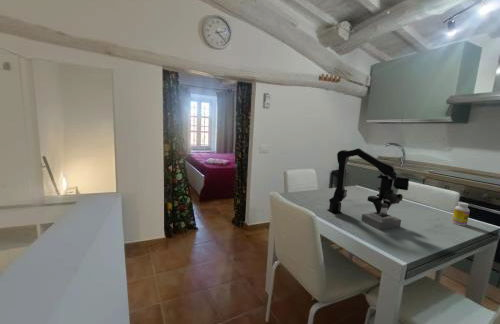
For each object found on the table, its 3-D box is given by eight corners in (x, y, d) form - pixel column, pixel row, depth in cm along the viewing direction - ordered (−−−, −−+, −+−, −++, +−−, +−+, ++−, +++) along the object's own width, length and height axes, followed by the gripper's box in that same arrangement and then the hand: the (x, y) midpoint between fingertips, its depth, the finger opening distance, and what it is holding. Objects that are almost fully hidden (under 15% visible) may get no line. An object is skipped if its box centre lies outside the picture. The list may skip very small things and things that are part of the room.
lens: (382, 217, 128) (383, 205, 126) (374, 214, 132) (376, 202, 131) (388, 217, 129) (390, 205, 128) (380, 213, 134) (382, 202, 133)
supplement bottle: (463, 226, 133) (468, 205, 131) (449, 222, 139) (453, 202, 137) (468, 225, 136) (473, 204, 134) (454, 220, 142) (458, 200, 140)
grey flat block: (379, 229, 123) (380, 219, 122) (361, 220, 134) (362, 211, 133) (400, 226, 129) (401, 217, 128) (381, 218, 140) (382, 209, 139)
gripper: (386, 191, 117) (382, 220, 120) (411, 190, 124) (407, 217, 126) (368, 186, 128) (364, 212, 130) (392, 184, 134) (388, 210, 137)
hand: (381, 213), depth 131 cm, fingers closed on lens, 5 cm apart
